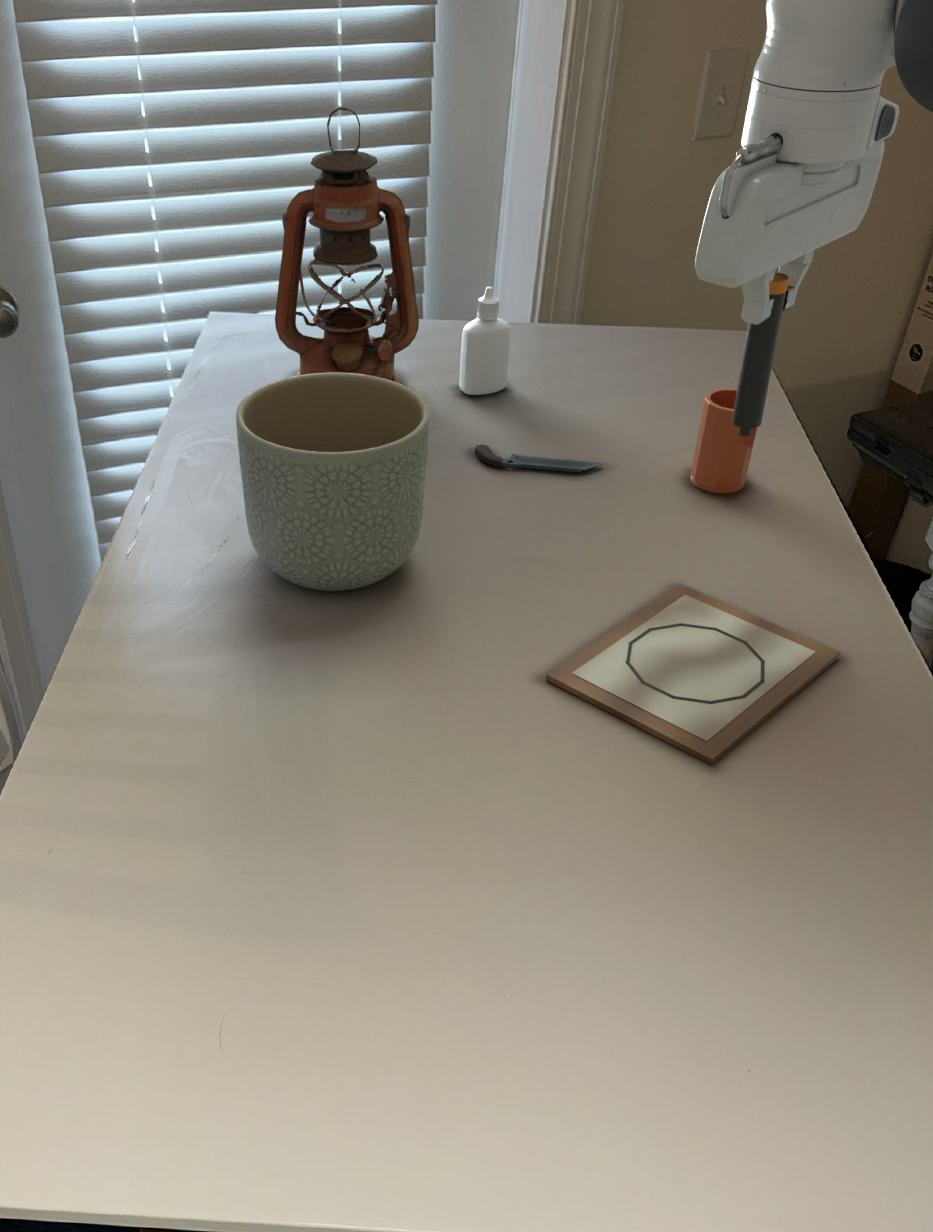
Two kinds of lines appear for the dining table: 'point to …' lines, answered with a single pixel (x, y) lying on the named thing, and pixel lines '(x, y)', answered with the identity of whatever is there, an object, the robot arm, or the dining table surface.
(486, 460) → the knife
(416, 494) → the planter
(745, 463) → the pen cup
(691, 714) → the sketch board
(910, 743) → the dining table surface
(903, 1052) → the dining table surface
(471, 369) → the eye dropper bottle
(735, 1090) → the dining table surface
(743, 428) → the marker
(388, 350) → the lantern
